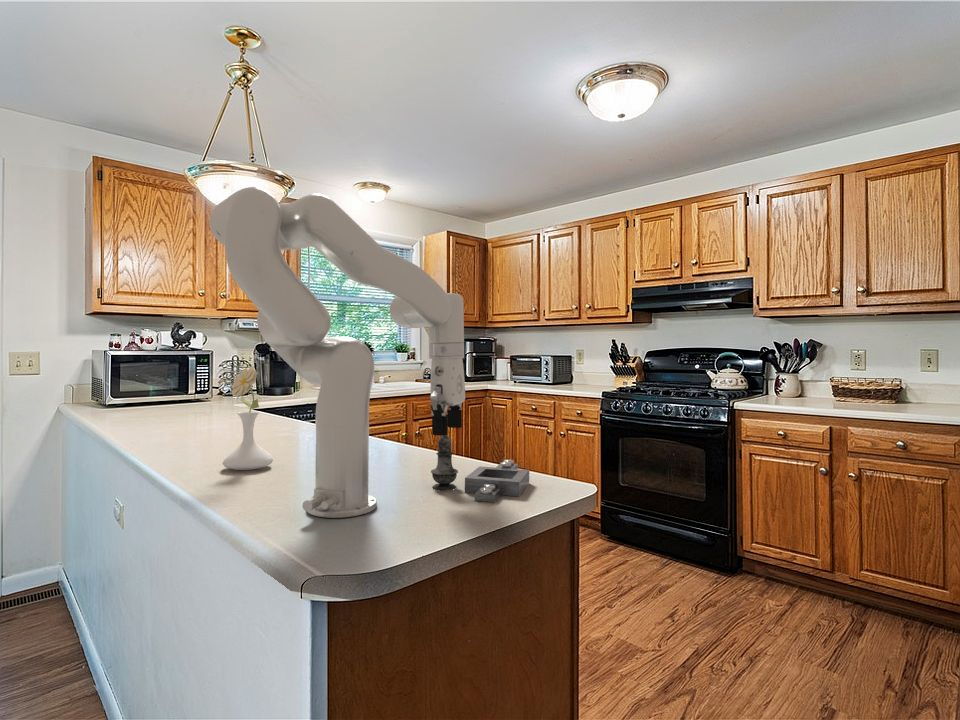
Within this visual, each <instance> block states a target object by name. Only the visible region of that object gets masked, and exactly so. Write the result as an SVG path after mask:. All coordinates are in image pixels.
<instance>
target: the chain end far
mask: <svg viewBox="0 0 960 720" xmlns="http://www.w3.org/2000/svg"><path fill="white" fill-rule="evenodd" d="M518 464H519V463H515V461H514V460H513V459H504V460H503V462H502V461H501V462H500V463H499V464H498V465H497V466H496V467H495V466H493V467H492V466H482V465H481V466H478V467H477V468H475V469H474V470H473V471H472V472H471V473H469V474H467V476H465V477H464V486H465V485H471V486H483V487H484V485H485V484H494V485H496V486H495V488H508V489H520V488H521V487H522V485H523V484H524V483H525V482H526V480H527V479H528V478H529V479H530V469H520V468H519V465H518ZM485 476H498V477H512V479H505V478H491V477H485Z"/></svg>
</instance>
